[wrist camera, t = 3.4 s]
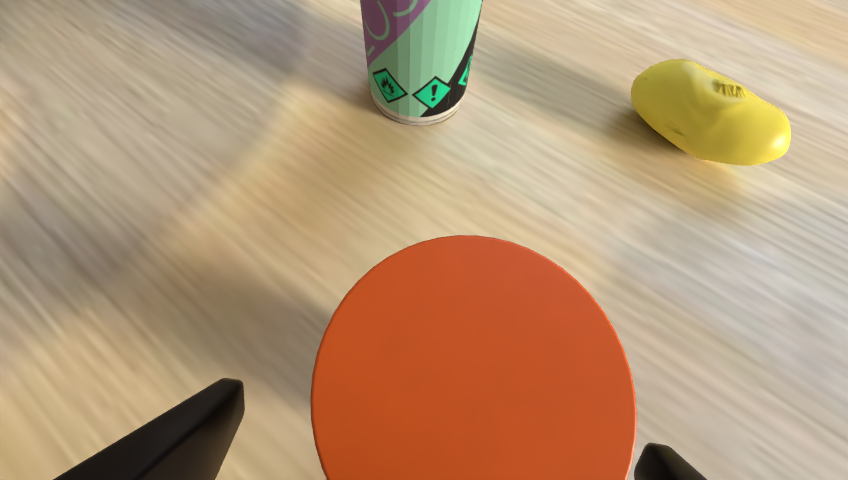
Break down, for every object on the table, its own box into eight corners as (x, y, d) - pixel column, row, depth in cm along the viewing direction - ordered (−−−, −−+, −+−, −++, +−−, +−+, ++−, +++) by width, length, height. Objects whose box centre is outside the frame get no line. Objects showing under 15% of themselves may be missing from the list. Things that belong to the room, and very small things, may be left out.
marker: (487, 444, 16) (697, 533, 4) (386, 469, 16) (330, 640, 4) (462, 342, 18) (571, 212, 6) (369, 361, 17) (295, 261, 6)
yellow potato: (639, 78, 24) (680, 20, 20) (765, 155, 22) (834, 106, 19) (603, 119, 23) (640, 64, 19) (733, 204, 21) (801, 161, 17)
